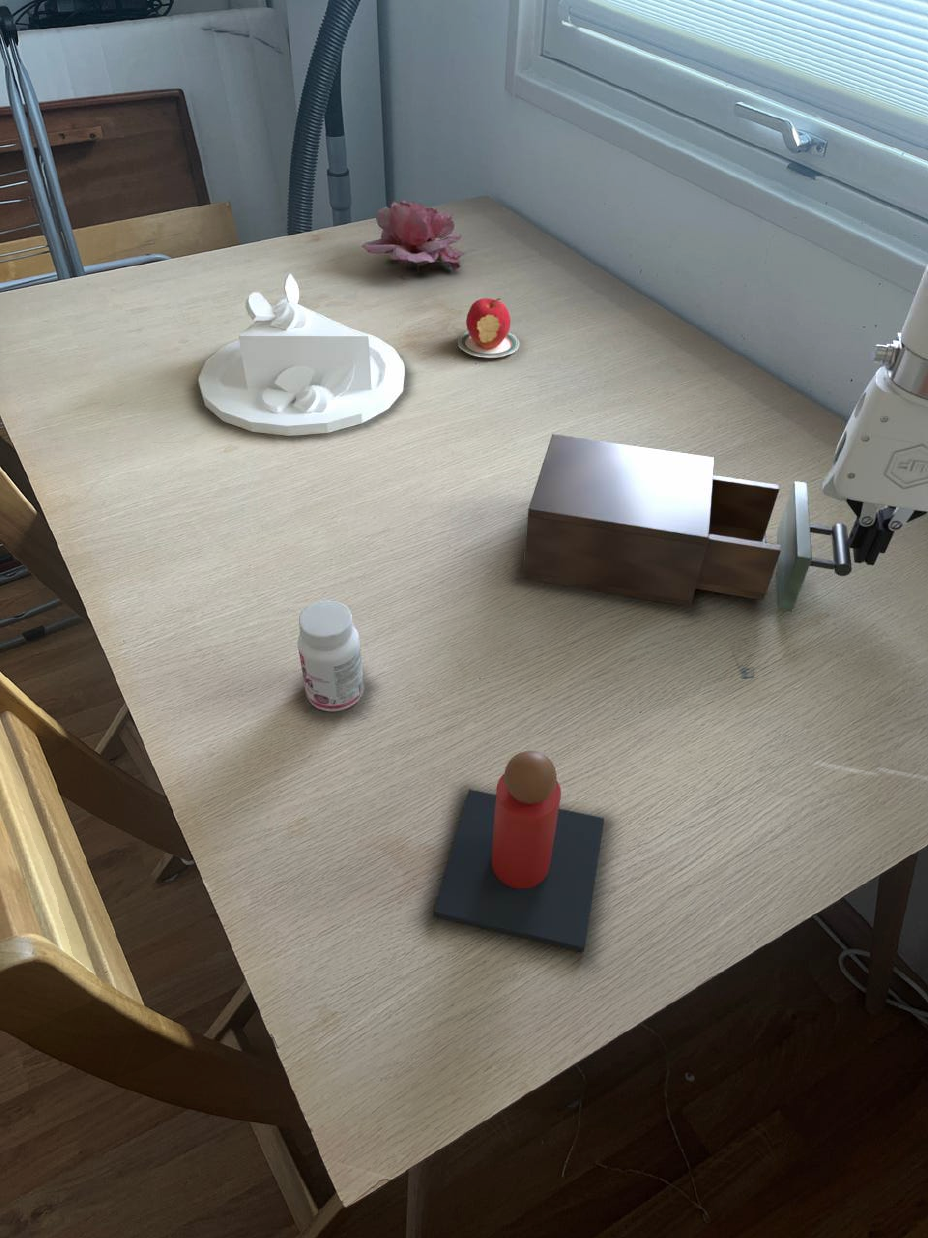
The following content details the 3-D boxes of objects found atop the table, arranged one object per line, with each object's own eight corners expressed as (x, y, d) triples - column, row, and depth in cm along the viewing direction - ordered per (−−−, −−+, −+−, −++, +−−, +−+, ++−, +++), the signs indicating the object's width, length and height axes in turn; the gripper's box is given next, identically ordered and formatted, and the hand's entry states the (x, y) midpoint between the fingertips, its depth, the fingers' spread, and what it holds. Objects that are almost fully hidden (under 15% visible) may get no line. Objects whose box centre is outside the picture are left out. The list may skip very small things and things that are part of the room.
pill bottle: (293, 692, 72) (280, 618, 66) (337, 661, 74) (328, 587, 69) (332, 723, 70) (321, 649, 64) (376, 690, 72) (370, 616, 66)
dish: (159, 410, 103) (136, 318, 95) (266, 321, 120) (253, 236, 112) (350, 453, 97) (342, 359, 89) (433, 353, 114) (433, 266, 106)
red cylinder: (554, 844, 61) (570, 742, 53) (544, 895, 59) (559, 795, 51) (498, 831, 62) (506, 729, 54) (485, 881, 59) (492, 781, 51)
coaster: (603, 822, 63) (604, 818, 63) (583, 952, 56) (584, 948, 56) (468, 793, 65) (469, 789, 65) (433, 916, 58) (433, 912, 58)
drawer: (833, 542, 86) (854, 489, 81) (840, 621, 78) (864, 567, 73) (641, 512, 89) (651, 459, 84) (629, 585, 81) (639, 531, 76)
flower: (427, 280, 123) (431, 202, 119) (346, 270, 130) (347, 195, 126) (484, 277, 134) (489, 205, 130) (407, 267, 141) (409, 199, 137)
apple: (531, 350, 115) (534, 302, 110) (481, 366, 112) (482, 317, 107) (495, 327, 120) (497, 279, 115) (446, 341, 116) (446, 293, 112)
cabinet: (697, 524, 89) (714, 457, 83) (690, 607, 80) (709, 537, 74) (545, 500, 91) (552, 433, 86) (522, 578, 82) (528, 509, 77)
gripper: (843, 378, 65) (777, 566, 78) (1061, 407, 63) (956, 596, 75) (837, 333, 70) (777, 516, 83) (1038, 358, 68) (944, 543, 81)
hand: (862, 554), depth 79 cm, fingers closed
